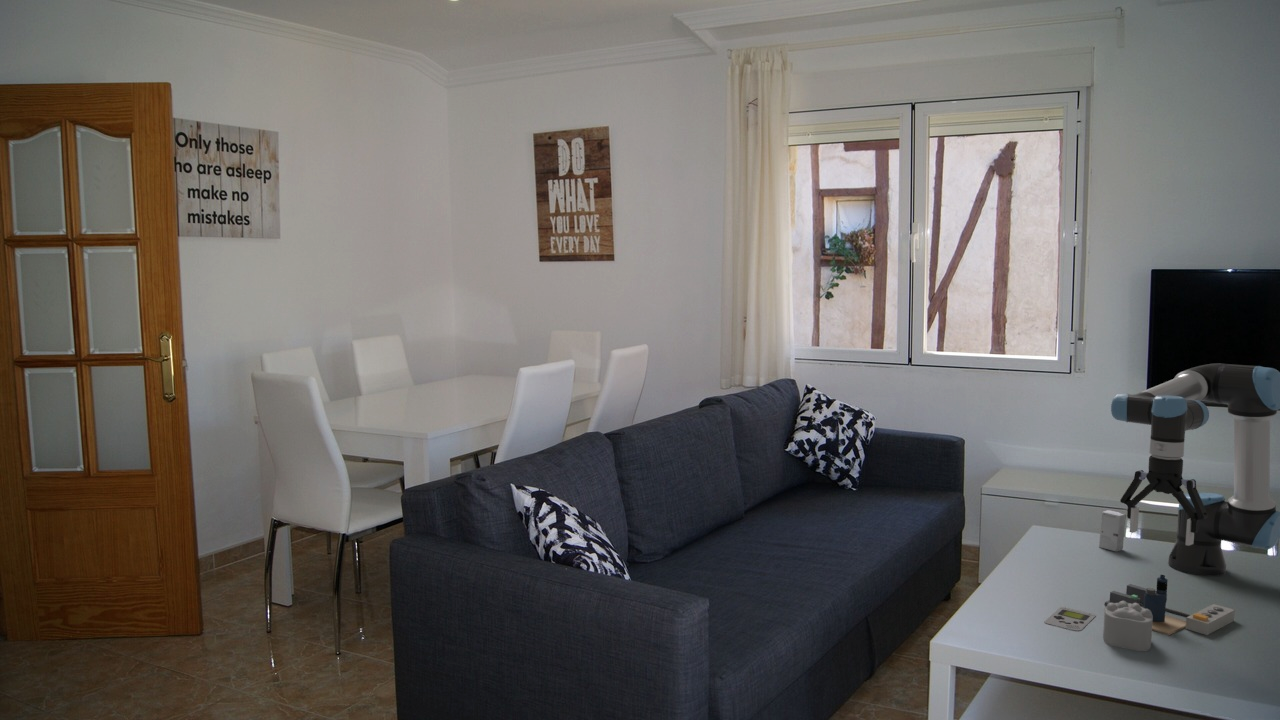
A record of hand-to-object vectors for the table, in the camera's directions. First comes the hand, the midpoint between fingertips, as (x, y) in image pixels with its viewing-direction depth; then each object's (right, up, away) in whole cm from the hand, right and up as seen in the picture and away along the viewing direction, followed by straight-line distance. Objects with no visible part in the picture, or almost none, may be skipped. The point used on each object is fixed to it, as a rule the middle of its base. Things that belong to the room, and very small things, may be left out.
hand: (1160, 538), depth 231 cm
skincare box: (+21, -16, +64) cm, 70 cm away
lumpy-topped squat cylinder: (-13, -24, -9) cm, 28 cm away
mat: (0, -22, +2) cm, 22 cm away
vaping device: (0, -22, +2) cm, 22 cm away
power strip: (+13, -23, +1) cm, 26 cm away
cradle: (+3, -22, +9) cm, 24 cm away
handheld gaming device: (-21, -23, +4) cm, 31 cm away
